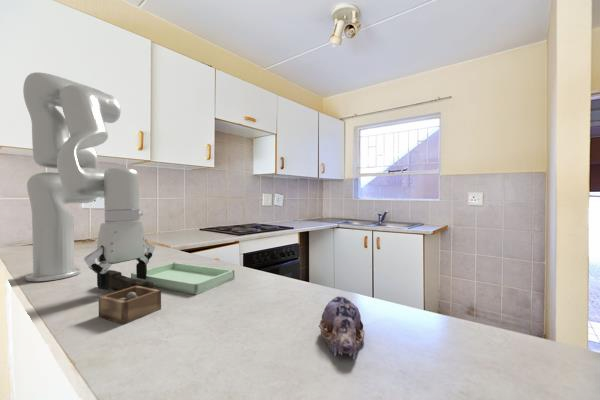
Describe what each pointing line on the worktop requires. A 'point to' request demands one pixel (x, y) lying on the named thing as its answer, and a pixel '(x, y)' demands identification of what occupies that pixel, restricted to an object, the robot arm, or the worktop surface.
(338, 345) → the skull
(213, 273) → the tray
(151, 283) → the dark brown tapered bar
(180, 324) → the worktop surface
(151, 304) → the gravel box
